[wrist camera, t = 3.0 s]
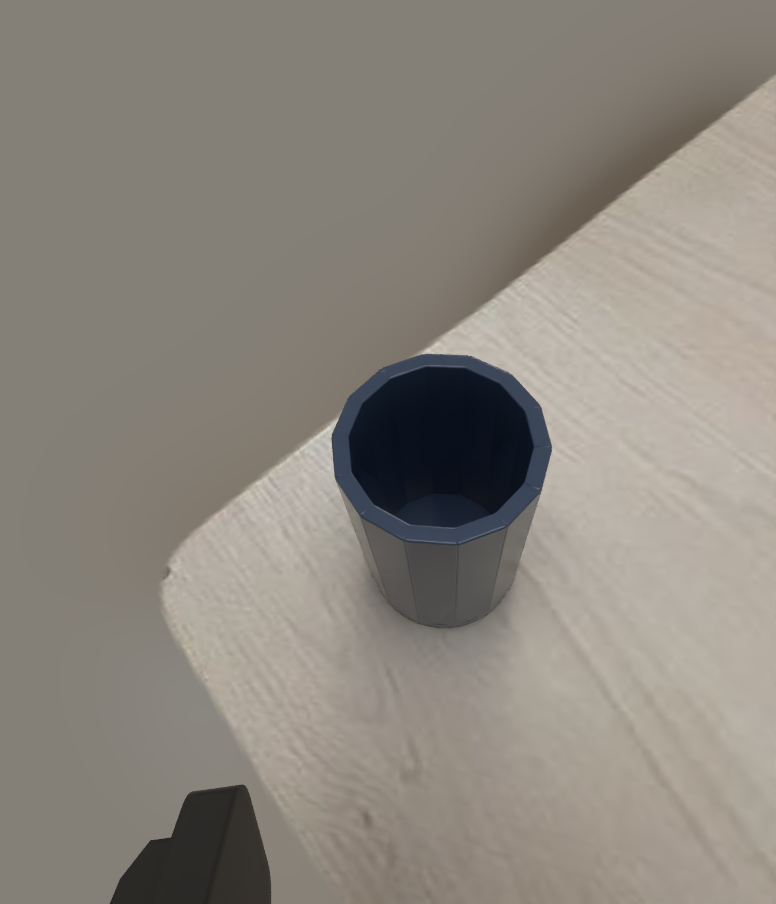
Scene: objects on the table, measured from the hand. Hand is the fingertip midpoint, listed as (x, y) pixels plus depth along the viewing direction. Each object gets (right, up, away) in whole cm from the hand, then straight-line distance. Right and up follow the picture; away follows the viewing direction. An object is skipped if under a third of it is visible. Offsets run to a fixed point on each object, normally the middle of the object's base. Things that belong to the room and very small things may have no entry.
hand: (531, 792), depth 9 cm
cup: (0, +1, +15) cm, 15 cm away
